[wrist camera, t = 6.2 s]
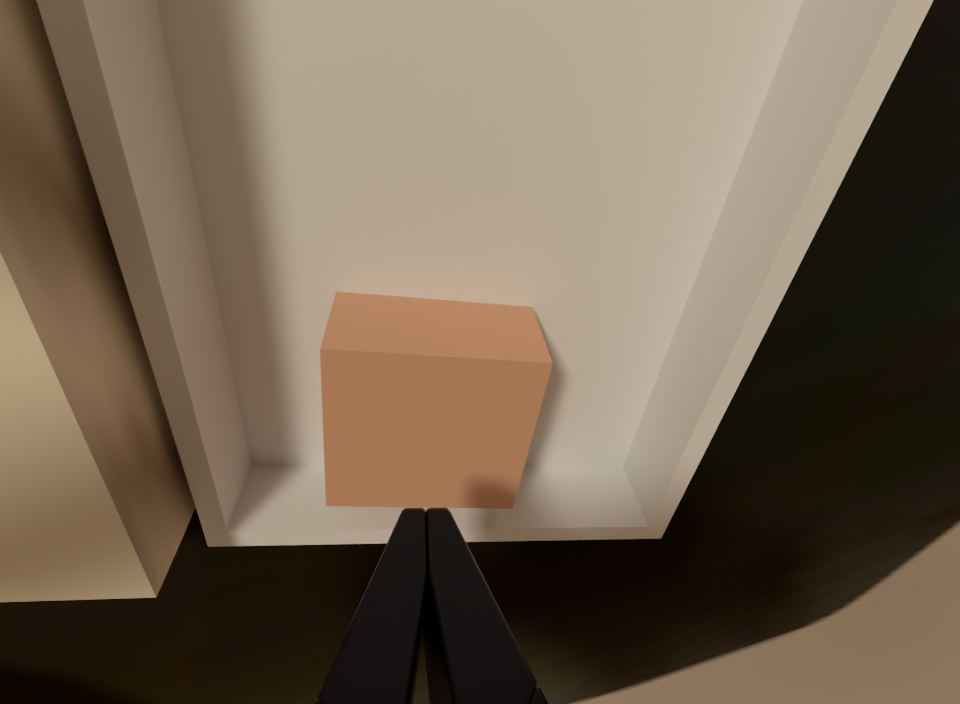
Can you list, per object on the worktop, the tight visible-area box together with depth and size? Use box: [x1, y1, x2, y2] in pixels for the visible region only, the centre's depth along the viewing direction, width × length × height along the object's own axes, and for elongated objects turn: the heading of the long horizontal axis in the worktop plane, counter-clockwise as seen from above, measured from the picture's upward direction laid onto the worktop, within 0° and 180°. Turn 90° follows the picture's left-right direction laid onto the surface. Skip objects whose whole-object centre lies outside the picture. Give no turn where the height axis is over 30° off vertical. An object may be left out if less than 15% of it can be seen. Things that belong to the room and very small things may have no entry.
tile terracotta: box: [320, 291, 553, 509], centre depth 13 cm, size 5×5×2 cm
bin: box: [36, 0, 933, 547], centre depth 10 cm, size 20×13×3 cm, turn 174°
